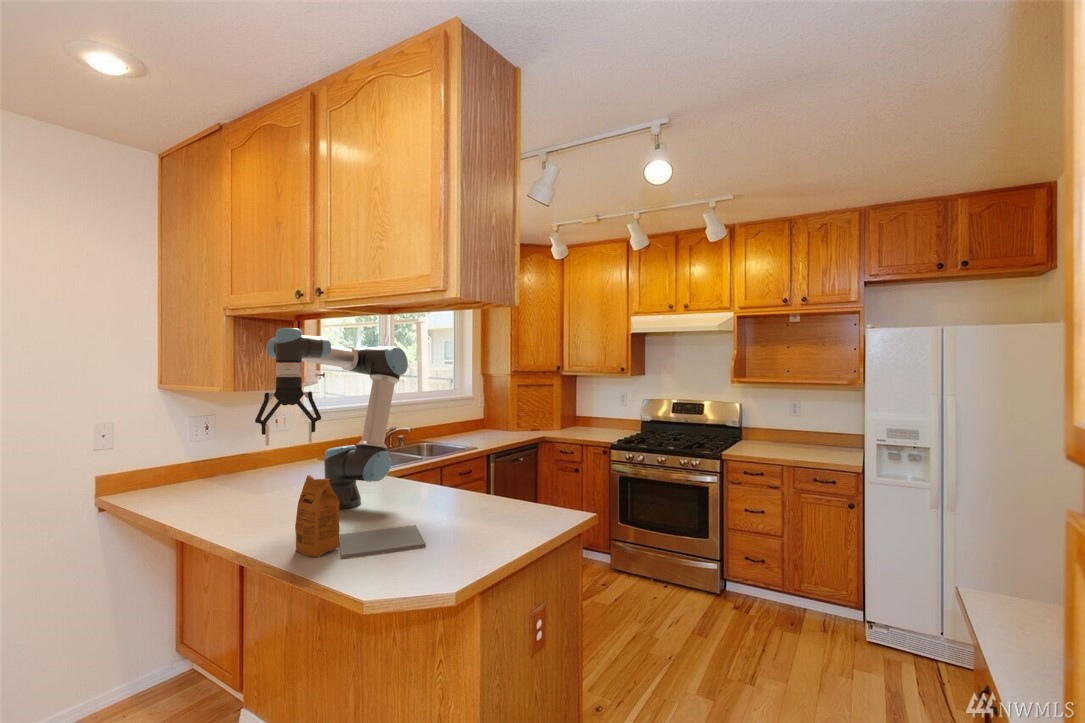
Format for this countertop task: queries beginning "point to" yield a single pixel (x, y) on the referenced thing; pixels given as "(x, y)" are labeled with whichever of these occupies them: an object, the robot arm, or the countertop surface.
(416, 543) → the topple mat
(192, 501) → the countertop surface
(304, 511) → the coffee package
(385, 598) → the countertop surface
